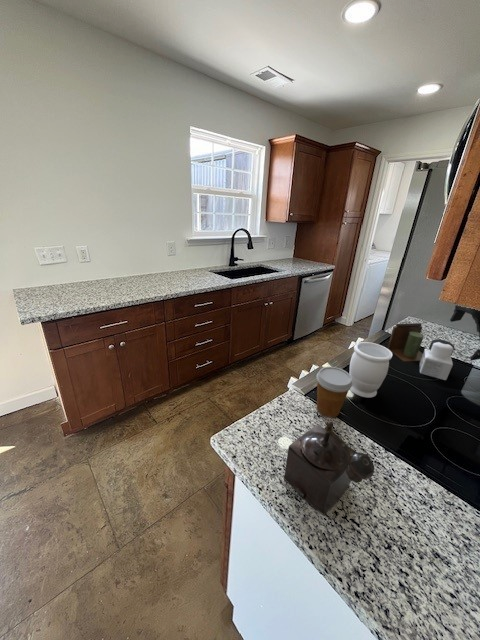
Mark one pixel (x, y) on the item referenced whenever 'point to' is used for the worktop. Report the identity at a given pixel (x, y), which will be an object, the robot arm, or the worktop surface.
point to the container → (437, 359)
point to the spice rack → (403, 340)
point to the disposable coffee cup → (332, 390)
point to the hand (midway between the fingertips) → (464, 338)
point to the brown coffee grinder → (324, 467)
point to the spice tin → (413, 344)
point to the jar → (368, 368)
